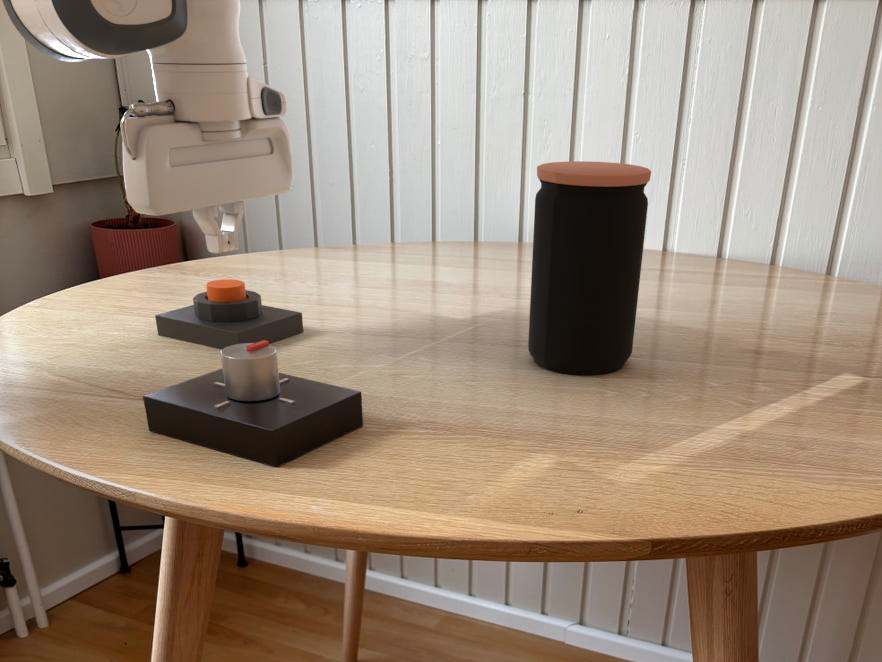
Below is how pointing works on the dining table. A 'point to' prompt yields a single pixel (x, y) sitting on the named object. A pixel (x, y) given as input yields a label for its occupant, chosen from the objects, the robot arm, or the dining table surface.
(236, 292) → the power button
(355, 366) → the dining table surface
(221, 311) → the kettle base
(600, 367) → the coffee jar
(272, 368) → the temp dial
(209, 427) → the dial panel
